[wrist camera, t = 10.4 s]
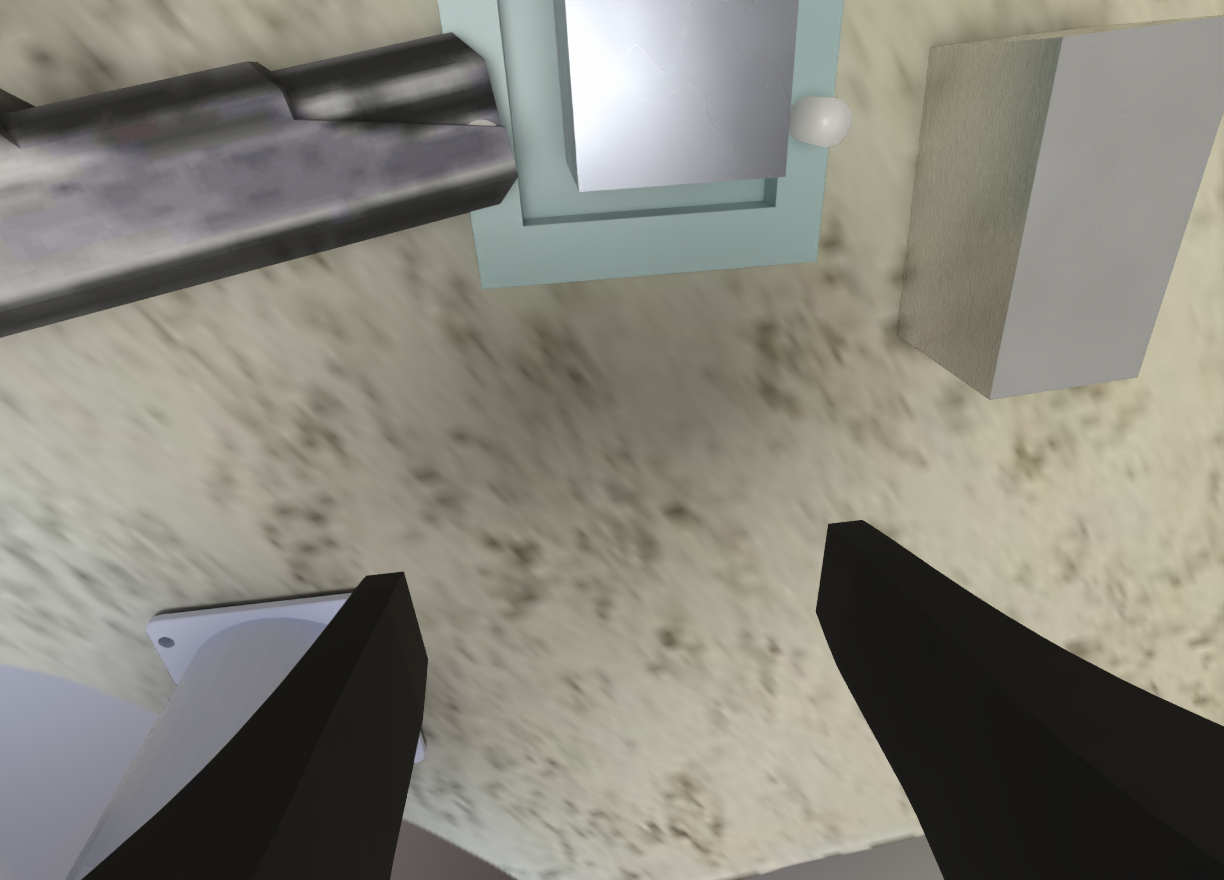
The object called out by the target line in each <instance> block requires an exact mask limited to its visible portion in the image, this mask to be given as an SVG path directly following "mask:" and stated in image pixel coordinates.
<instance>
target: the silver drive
mask: <svg viewBox="0 0 1224 880" xmlns="http://www.w3.org/2000/svg"><path fill="white" fill-rule="evenodd" d="M1223 112H1224V15H1218V16H1207V17H1196V18H1185V19H1173V20H1162V21H1151V22H1139V23H1128V24H1117V25H1105V26H1094V27H1083V28H1073V29H1065V30H1057V31H1050V32H1042V33H1034V34H1027V35H1019V36H1011V37H1003V38H996V39H988V40H980V41H973V42H965V43H957V44H949V45H942V46H934V47H930V52H929V61H928V70H927V78H926V87H925V95H924V104H923V113H922V121H921V130H920V138H919V147H918V156H917V164H916V173H915V181H914V190H913V199H912V207H911V216H910V224H909V233H908V242H907V250H906V259H905V267H904V276H903V285H902V293H901V302H900V311H899V319H898V328H897V335H898V336H899V337H901V338H902V339H904V340H905V341H907V342H908V343H909V344H911V345H912V346H914V347H915V348H916V349H918V350H919V351H921V352H922V353H924V354H925V355H926V356H928V357H929V358H931V359H932V360H934V361H935V362H936V363H938V364H939V365H941V366H942V367H943V368H945V369H946V370H948V371H949V372H951V373H952V374H953V375H955V376H956V377H958V378H959V379H961V380H962V381H963V382H965V383H966V384H968V385H969V386H970V387H972V388H973V389H975V390H976V391H978V392H979V393H980V394H982V395H983V396H985V397H986V398H988V399H989V400H993V399H999V398H1006V397H1012V396H1019V395H1025V394H1032V393H1038V392H1045V391H1051V390H1058V389H1064V388H1071V387H1077V386H1084V385H1090V384H1097V383H1104V382H1110V381H1117V380H1123V379H1130V378H1136V377H1138V374H1139V371H1140V368H1141V365H1142V362H1143V359H1144V356H1145V353H1146V350H1147V346H1148V343H1149V340H1150V337H1151V334H1152V331H1153V328H1154V325H1155V322H1156V319H1157V316H1158V312H1159V309H1160V306H1161V303H1162V300H1163V297H1164V294H1165V291H1166V288H1167V285H1168V282H1169V278H1170V275H1171V272H1172V269H1173V266H1174V263H1175V260H1176V257H1177V254H1178V251H1179V248H1180V244H1181V241H1182V238H1183V235H1184V232H1185V229H1186V226H1187V223H1188V220H1189V217H1190V214H1191V211H1192V207H1193V204H1194V201H1195V198H1196V195H1197V192H1198V189H1199V186H1200V183H1201V180H1202V177H1203V173H1204V170H1205V167H1206V164H1207V161H1208V158H1209V155H1210V152H1211V149H1212V146H1213V143H1214V139H1215V136H1216V133H1217V130H1218V127H1219V124H1220V121H1221V118H1222V115H1223Z"/></svg>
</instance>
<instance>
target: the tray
mask: <svg viewBox="0 0 1224 880" xmlns="http://www.w3.org/2000/svg"><path fill="white" fill-rule="evenodd" d="M843 4H844V0H799V6H798V19H797V32H796V45H795V59H794V72H793V85H792V98H791V111H790V124H789V138H788V151H787V164H786V177H778V178H764V179H750V180H737V181H723V182H709V183H695V184H682V185H668V186H654V187H641V188H627V189H613V190H599V191H586V192H579V191H578V189H577V186H576V184H575V181H574V179H573V177H572V174H571V172H570V170H569V167H568V165H567V163H566V156H565V143H564V131H563V119H562V106H561V94H560V81H559V69H558V57H557V44H556V32H555V19H554V7H553V0H438V7H439V13H440V20H441V26H442V33H443V34H445V33H449V32H453V33H454V34H455V35H456V36H457V37H459V38H460V39H461V40H462V41H463V42H465V43H466V44H467V45H468V46H470V47H471V48H472V49H473V50H474V51H476V52H477V53H478V54H479V55H480V56H482V57H483V58H484V59H485V63H486V67H487V71H488V74H489V78H490V82H491V86H492V90H493V94H494V98H495V102H496V106H497V110H498V114H499V117H500V121H501V125H502V126H504V127H506V129H507V133H508V137H509V141H510V145H511V149H512V153H513V157H514V161H515V165H516V169H517V173H518V178H517V179H516V181H515V182H514V184H513V185H512V187H511V189H510V190H509V192H508V193H507V195H506V196H505V198H504V199H503V201H502V202H501V204H498V205H494V206H491V207H487V208H483V209H480V210H476V211H472V212H470V214H471V221H472V227H473V234H474V240H475V247H476V253H477V260H478V266H479V273H480V279H481V286H482V289H491V288H503V287H515V286H527V285H539V284H551V283H564V282H576V281H588V280H600V279H612V278H624V277H636V276H648V275H660V274H672V273H684V272H697V271H709V270H721V269H733V268H745V267H757V266H769V265H781V264H793V263H805V262H817V253H818V244H819V234H820V224H821V215H822V205H823V196H824V186H825V177H826V167H827V157H828V148H829V147H831V146H834V145H836V144H838V143H839V142H841V141H842V140H843V139H844V138H845V136H846V135H847V133H848V131H849V129H850V126H851V121H852V115H851V111H850V108H849V106H848V105H847V103H846V102H844V101H843V100H841V99H839V98H834V90H835V81H836V71H837V62H838V52H839V43H840V33H841V23H842V14H843ZM468 125H483V126H496V124H494V123H492V122H490V121H487V120H476V121H473V122H471V123H469V124H468Z"/></svg>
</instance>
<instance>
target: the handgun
mask: <svg viewBox="0 0 1224 880" xmlns="http://www.w3.org/2000/svg"><path fill="white" fill-rule="evenodd" d="M476 120H487V121H490V122H492V123H494V124H496V126H483V125H468V124H469V123H471V122H473V121H476ZM517 178H518V173H517V169H516V165H515V161H514V157H513V153H512V149H511V145H510V141H509V137H508V133H507V129H506V127H504V126H502V125H501V121H500V117H499V114H498V110H497V106H496V102H495V98H494V94H493V90H492V86H491V82H490V78H489V74H488V71H487V67H486V63H485V59H484V58H483V57H482V56H480V55H479V54H478V53H477V52H476V51H474V50H473V49H472V48H471V47H470V46H468V45H467V44H466V43H465V42H463V41H462V40H461V39H460V38H459V37H457V36H456V35H455V34H454V33H453V32H449V33H445V34H440V35H436V36H431V37H426V38H422V39H417V40H413V41H408V42H404V43H399V44H395V45H390V46H385V47H381V48H376V49H372V50H367V51H363V52H358V53H354V54H349V55H345V56H340V57H335V58H331V59H326V60H322V61H317V62H313V63H308V64H304V65H299V66H294V67H290V68H285V69H281V70H276V71H272V72H271V71H270V70H268V69H267V68H265V67H264V66H262V65H261V64H259V63H258V62H243V63H238V64H233V65H229V66H224V67H220V68H215V69H210V70H206V71H201V72H196V73H192V74H187V75H183V76H178V77H173V78H169V79H164V80H159V81H155V82H150V83H146V84H141V85H136V86H132V87H127V88H122V89H118V90H113V91H109V92H104V93H99V94H95V95H90V96H85V97H81V98H76V99H71V100H67V101H62V102H58V103H53V104H48V105H44V106H39V107H35V106H33V105H31V104H29V103H27V102H25V101H23V100H21V99H19V98H17V97H15V96H13V95H11V94H9V93H8V92H6V91H4V90H2V89H0V338H1V337H4V336H8V335H12V334H16V333H19V332H23V331H27V330H30V329H34V328H38V327H42V326H45V325H49V324H53V323H57V322H60V321H64V320H68V319H72V318H75V317H79V316H83V315H87V314H90V313H94V312H98V311H102V310H105V309H109V308H113V307H117V306H120V305H124V304H128V303H132V302H135V301H139V300H143V299H146V298H150V297H154V296H158V295H161V294H165V293H169V292H173V291H176V290H180V289H184V288H188V287H191V286H195V285H199V284H203V283H206V282H210V281H214V280H218V279H221V278H225V277H229V276H233V275H236V274H240V273H244V272H248V271H251V270H255V269H259V268H262V267H266V266H270V265H274V264H277V263H281V262H285V261H289V260H292V259H296V258H300V257H304V256H307V255H311V254H315V253H319V252H322V251H326V250H330V249H334V248H337V247H341V246H345V245H349V244H352V243H356V242H360V241H364V240H367V239H371V238H375V237H378V236H382V235H386V234H390V233H393V232H397V231H401V230H405V229H408V228H412V227H416V226H420V225H423V224H427V223H431V222H435V221H438V220H442V219H446V218H450V217H453V216H457V215H461V214H465V213H468V212H472V211H476V210H480V209H483V208H487V207H491V206H494V205H498V204H501V202H502V201H503V199H504V198H505V196H506V195H507V193H508V192H509V190H510V189H511V187H512V185H513V184H514V182H515V181H516V179H517Z"/></svg>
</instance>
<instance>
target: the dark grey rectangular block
mask: <svg viewBox="0 0 1224 880" xmlns="http://www.w3.org/2000/svg"><path fill="white" fill-rule="evenodd" d="M798 6H799V0H553V7H554V19H555V32H556V44H557V57H558V69H559V81H560V94H561V106H562V119H563V131H564V143H565V156H566V163H567V165H568V167H569V170H570V172H571V174H572V177H573V179H574V181H575V184H576V186H577V189H578V191H579V192H586V191H599V190H613V189H627V188H641V187H654V186H668V185H682V184H695V183H709V182H723V181H737V180H750V179H764V178H778V177H786V164H787V151H788V138H789V124H790V111H791V98H792V85H793V72H794V59H795V45H796V32H797V19H798Z"/></svg>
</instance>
